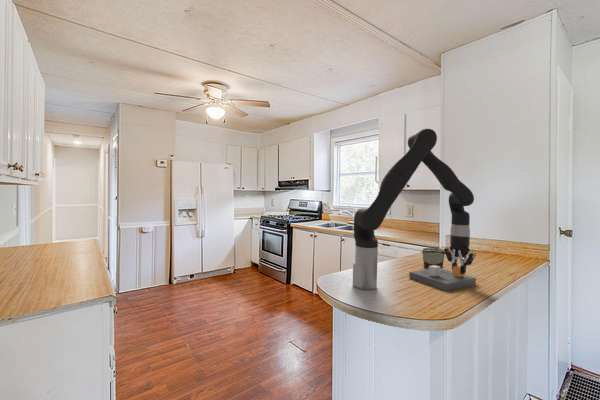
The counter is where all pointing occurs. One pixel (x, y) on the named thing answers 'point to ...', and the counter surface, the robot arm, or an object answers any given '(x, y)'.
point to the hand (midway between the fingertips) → (458, 272)
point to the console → (442, 279)
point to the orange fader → (457, 271)
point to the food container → (433, 257)
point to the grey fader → (434, 270)
